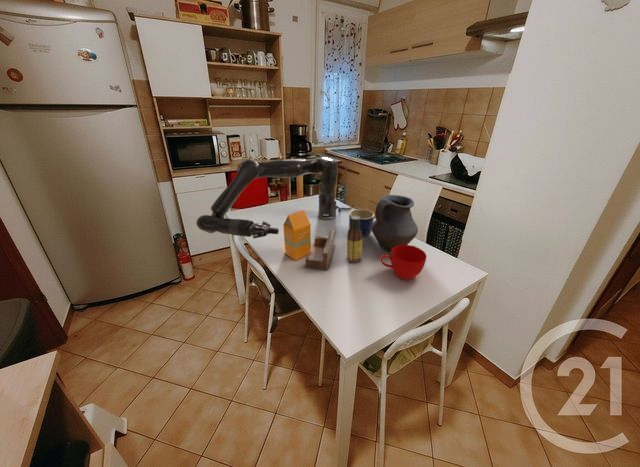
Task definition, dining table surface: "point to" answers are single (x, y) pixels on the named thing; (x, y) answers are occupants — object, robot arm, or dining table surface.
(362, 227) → the planter
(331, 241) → the wooden stand
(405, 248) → the ceramic cup
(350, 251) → the sauce bottle
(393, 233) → the pitcher
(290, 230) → the orange juice
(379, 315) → the dining table surface
